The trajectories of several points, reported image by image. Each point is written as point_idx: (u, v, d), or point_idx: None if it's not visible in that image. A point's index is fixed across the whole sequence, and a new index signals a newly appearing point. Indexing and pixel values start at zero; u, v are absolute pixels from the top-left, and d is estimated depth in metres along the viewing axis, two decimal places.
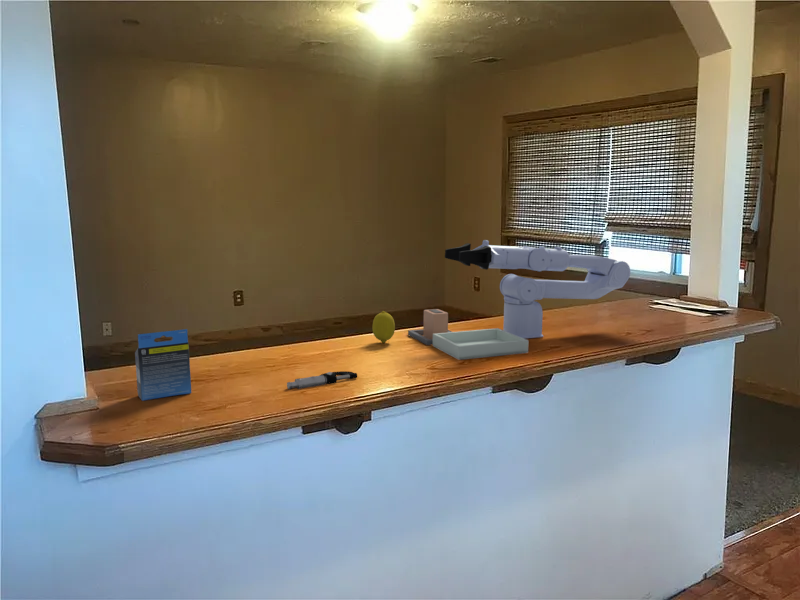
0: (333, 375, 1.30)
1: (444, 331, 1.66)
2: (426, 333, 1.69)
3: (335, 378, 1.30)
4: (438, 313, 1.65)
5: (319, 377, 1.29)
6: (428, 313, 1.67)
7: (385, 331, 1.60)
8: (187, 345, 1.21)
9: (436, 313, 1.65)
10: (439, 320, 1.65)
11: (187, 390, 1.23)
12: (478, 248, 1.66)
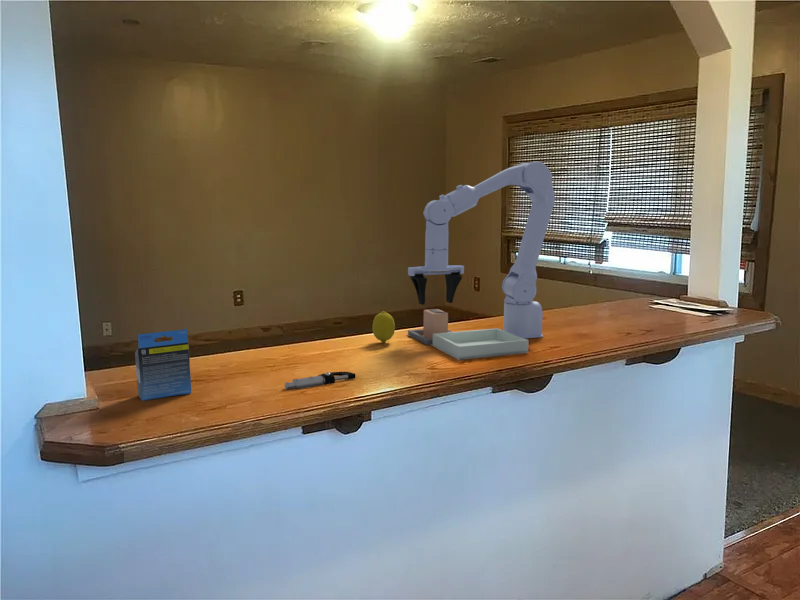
0: (331, 375, 1.30)
1: (444, 331, 1.66)
2: (426, 333, 1.69)
3: (333, 378, 1.30)
4: (438, 313, 1.65)
5: (317, 377, 1.29)
6: (428, 313, 1.67)
7: (385, 331, 1.60)
8: (187, 345, 1.21)
9: (436, 313, 1.65)
10: (439, 320, 1.65)
11: (187, 390, 1.23)
12: None
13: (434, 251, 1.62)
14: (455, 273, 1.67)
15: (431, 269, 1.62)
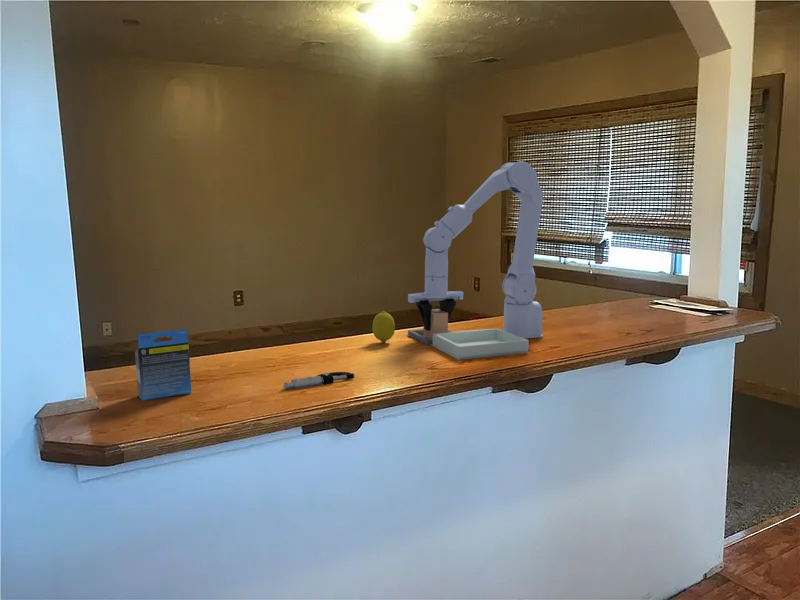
0: (330, 375, 1.30)
1: (444, 331, 1.66)
2: (426, 333, 1.69)
3: (332, 378, 1.30)
4: (438, 313, 1.65)
5: (316, 377, 1.28)
6: None
7: (385, 331, 1.60)
8: (187, 345, 1.21)
9: (436, 313, 1.65)
10: (438, 319, 1.65)
11: (187, 390, 1.23)
12: None
13: (434, 278, 1.63)
14: (455, 299, 1.68)
15: (431, 296, 1.64)
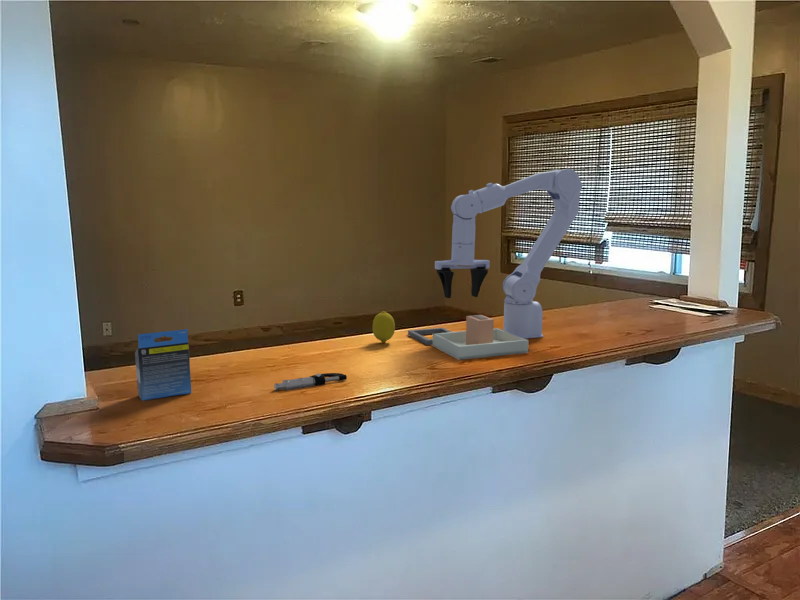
0: (322, 377, 1.29)
1: (489, 339, 1.55)
2: (469, 341, 1.58)
3: (324, 380, 1.29)
4: (483, 319, 1.54)
5: (307, 379, 1.28)
6: (472, 319, 1.56)
7: (385, 331, 1.60)
8: (187, 345, 1.21)
9: (481, 319, 1.54)
10: (484, 326, 1.54)
11: (187, 390, 1.23)
12: None
13: (461, 245, 1.64)
14: (481, 267, 1.68)
15: (458, 263, 1.64)
